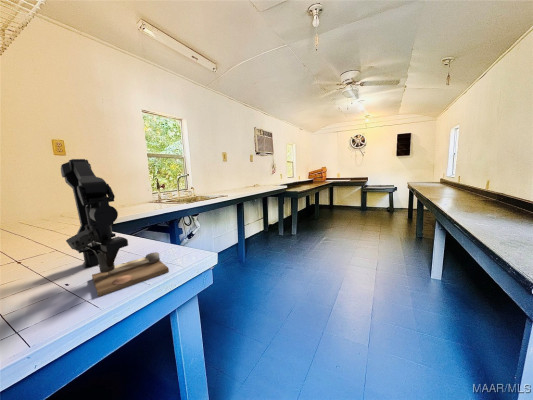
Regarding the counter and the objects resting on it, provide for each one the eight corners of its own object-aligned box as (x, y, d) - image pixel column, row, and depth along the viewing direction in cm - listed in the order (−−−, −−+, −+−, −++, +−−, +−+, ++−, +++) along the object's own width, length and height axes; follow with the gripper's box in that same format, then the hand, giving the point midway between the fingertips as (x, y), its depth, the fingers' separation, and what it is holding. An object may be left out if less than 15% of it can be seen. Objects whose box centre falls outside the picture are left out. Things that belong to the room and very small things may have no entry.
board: (92, 278, 74) (91, 274, 74) (155, 259, 88) (154, 255, 87) (98, 296, 63) (97, 291, 63) (168, 271, 77) (168, 267, 76)
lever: (157, 257, 85) (155, 238, 84) (161, 260, 82) (158, 241, 81) (100, 274, 73) (96, 252, 72) (102, 279, 70) (98, 256, 69)
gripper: (54, 223, 67) (63, 270, 70) (82, 230, 58) (92, 283, 61) (95, 215, 77) (102, 257, 79) (125, 220, 68) (132, 266, 71)
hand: (106, 265), depth 72 cm, fingers closed on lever, 4 cm apart
